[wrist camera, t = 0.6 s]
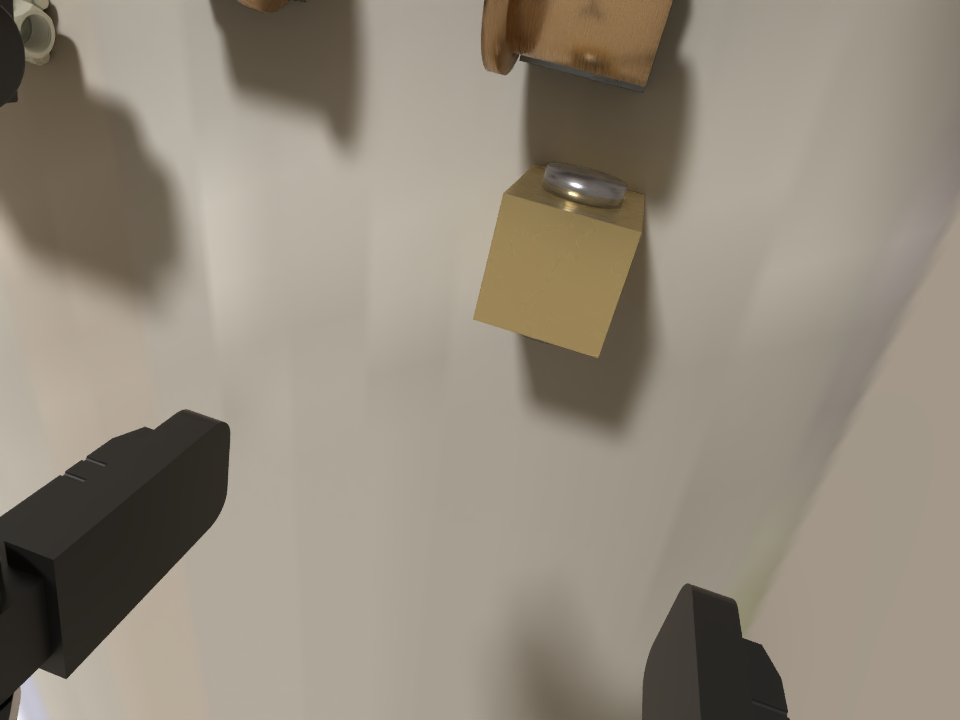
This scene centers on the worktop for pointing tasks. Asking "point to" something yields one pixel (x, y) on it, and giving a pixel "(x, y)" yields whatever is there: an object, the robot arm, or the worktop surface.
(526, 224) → the block
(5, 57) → the pneumatic valve
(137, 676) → the worktop surface
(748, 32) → the worktop surface
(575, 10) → the pipe stubs
